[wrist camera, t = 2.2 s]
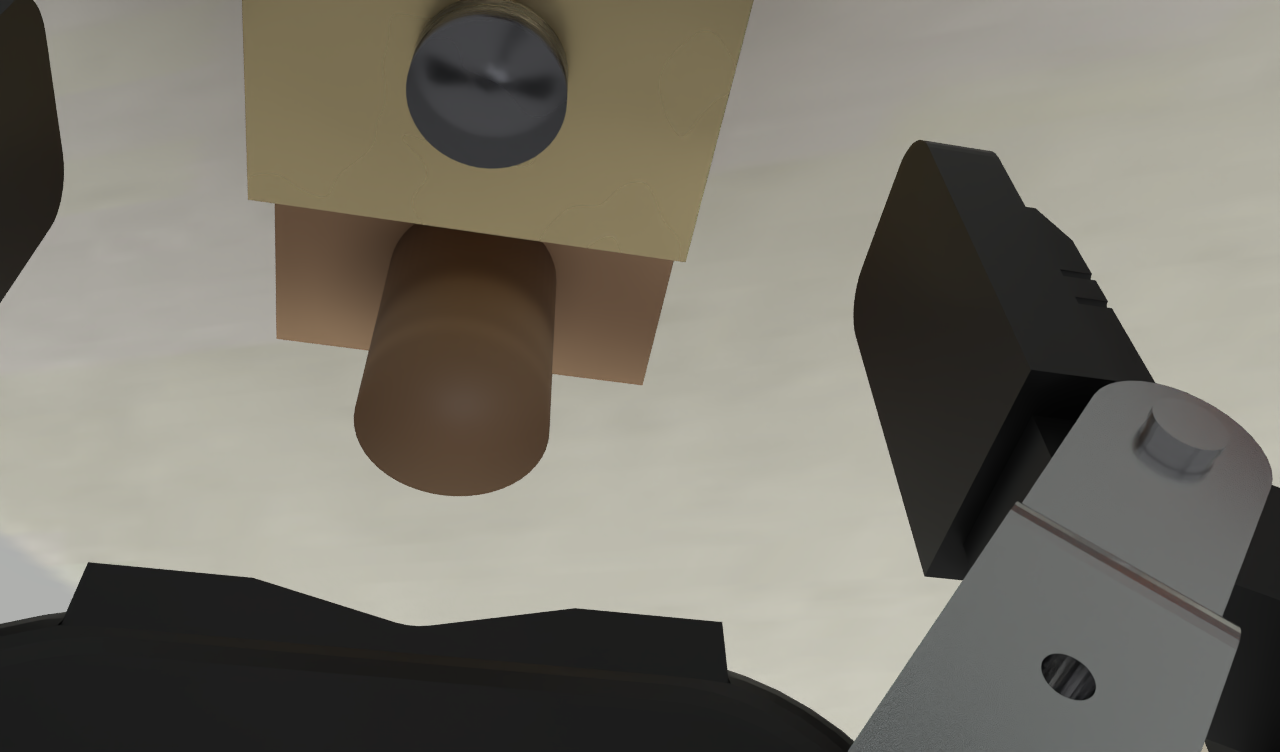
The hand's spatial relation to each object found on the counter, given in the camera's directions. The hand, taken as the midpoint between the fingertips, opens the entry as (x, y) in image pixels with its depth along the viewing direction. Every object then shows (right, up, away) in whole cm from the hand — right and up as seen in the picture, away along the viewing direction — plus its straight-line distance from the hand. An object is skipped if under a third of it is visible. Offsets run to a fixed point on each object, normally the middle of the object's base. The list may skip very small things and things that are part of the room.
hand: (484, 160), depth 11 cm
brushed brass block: (0, +5, +6) cm, 8 cm away
